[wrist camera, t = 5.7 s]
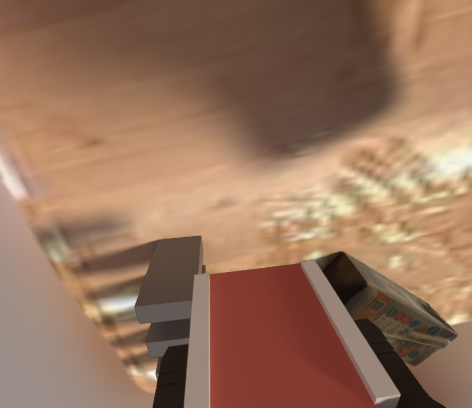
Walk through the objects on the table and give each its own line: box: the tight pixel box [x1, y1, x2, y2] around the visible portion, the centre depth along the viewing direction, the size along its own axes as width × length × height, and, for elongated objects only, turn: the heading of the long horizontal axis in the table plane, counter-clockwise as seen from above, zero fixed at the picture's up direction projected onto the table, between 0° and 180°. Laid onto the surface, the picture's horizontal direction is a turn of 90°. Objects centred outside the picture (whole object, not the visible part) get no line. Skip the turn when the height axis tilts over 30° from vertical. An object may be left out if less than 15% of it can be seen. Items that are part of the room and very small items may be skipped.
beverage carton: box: [322, 252, 458, 366], centre depth 33 cm, size 8×19×7 cm, turn 56°
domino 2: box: [146, 265, 206, 358], centre depth 27 cm, size 2×5×10 cm, turn 93°
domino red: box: [210, 263, 379, 408], centre depth 9 cm, size 2×5×10 cm, turn 94°
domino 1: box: [134, 236, 203, 324], centre depth 25 cm, size 2×5×10 cm, turn 94°
